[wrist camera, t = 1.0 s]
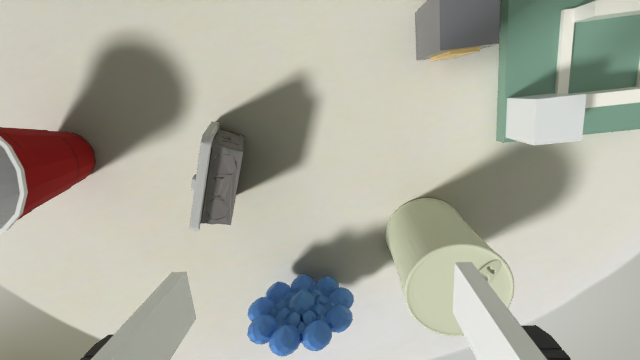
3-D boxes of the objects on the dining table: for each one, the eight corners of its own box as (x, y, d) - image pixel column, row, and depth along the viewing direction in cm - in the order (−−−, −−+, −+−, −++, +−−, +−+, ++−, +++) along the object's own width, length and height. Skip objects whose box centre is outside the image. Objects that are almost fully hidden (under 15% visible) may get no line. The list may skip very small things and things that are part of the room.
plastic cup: (118, 119, 36) (16, 132, 25) (115, 205, 39) (22, 252, 28) (27, 98, 36) (-118, 101, 25) (30, 185, 39) (-98, 224, 28)
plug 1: (415, 13, 32) (439, -13, 24) (461, 6, 31) (500, -22, 24) (416, 63, 33) (440, 54, 25) (461, 58, 32) (498, 47, 25)
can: (480, 233, 37) (542, 296, 26) (421, 281, 40) (454, 358, 28) (427, 181, 36) (468, 223, 25) (369, 233, 38) (382, 295, 27)
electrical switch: (213, 119, 36) (181, 131, 27) (258, 130, 36) (241, 145, 27) (202, 195, 38) (170, 229, 30) (244, 204, 39) (225, 239, 30)
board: (502, -37, 30) (529, -59, 26) (662, -61, 29) (719, -88, 24) (496, 140, 34) (518, 147, 30) (634, 126, 33) (679, 131, 29)
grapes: (264, 306, 42) (235, 386, 31) (261, 260, 40) (229, 328, 29) (351, 309, 41) (356, 393, 30) (353, 263, 40) (358, 333, 28)
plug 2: (507, 98, 32) (536, 99, 27) (549, 93, 31) (586, 93, 27) (505, 137, 33) (533, 145, 28) (545, 133, 32) (581, 140, 28)
